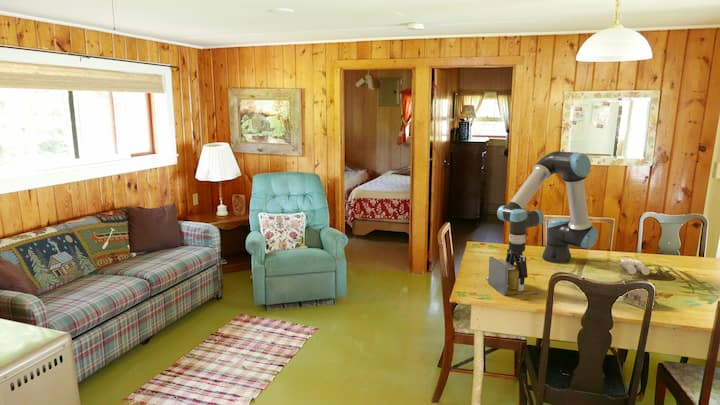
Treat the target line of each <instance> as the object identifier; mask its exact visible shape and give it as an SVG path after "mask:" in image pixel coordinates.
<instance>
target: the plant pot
mask: <svg viewBox="0 0 720 405" xmlns="http://www.w3.org/2000/svg"><path fill="white" fill-rule="evenodd" d="M513 266H514V267H515V269H513V270H508V283H507V288H508V289H511V290H518V277H519V272H518V268H517V264H516V263H514V265H513Z"/></svg>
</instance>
